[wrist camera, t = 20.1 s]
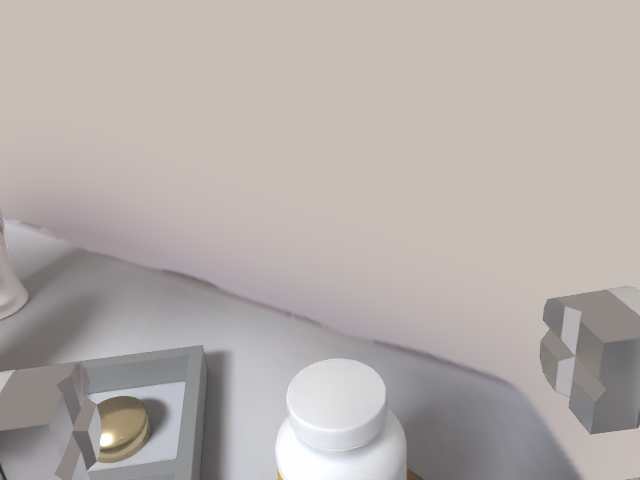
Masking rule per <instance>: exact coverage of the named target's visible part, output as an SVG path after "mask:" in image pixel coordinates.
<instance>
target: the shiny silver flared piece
mask: <svg viewBox="0 0 640 480" xmlns="http://www.w3.org/2000/svg"><path fill="white" fill-rule="evenodd" d="M27 300H28V293H27V291H26V289H25V288H24V287H23V285H22V284H21V282H20V281H19V279H18V278H17V276H16V274H15V272H14V269H13V267H12V264H11V260H10V256H9V250H8V244H7V238H6V232H5V226H4V221H3V216H2V212H1V209H0V320H1V319H4V318H6V317H8V316H10V315H12V314H14V313H15V312H17V311H18V310H20V309H21V308H22V307H23V306H24V305H25V304H26V302H27Z"/></svg>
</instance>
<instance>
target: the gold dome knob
mask: <svg viewBox="0 0 640 480" xmlns="http://www.w3.org/2000/svg"><path fill="white" fill-rule="evenodd" d="M97 408H98V412H99V415H100V422H101V430H102V432H101V448H100V452H99V455H98V459H97V461H98V462H102V463H113V462H118V461H122V460H124V459H127V458H129V457H131V456H132V455H134V454H136V453H137V452H138V451H139V450H140V449H141V448H142V447H143V446H144V445H145V444H146V442H147V441H148V439H149V436H150V433H151V428H150V424H149V420H148V417H147V413H146V410H145V407H144V405H143V403H142V402H141V401H140V400H138V399H137V398H134V397H130V396H119V397H114V398H110V399H107V400H105V401H103V402H101V403H99V404H97Z"/></svg>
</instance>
